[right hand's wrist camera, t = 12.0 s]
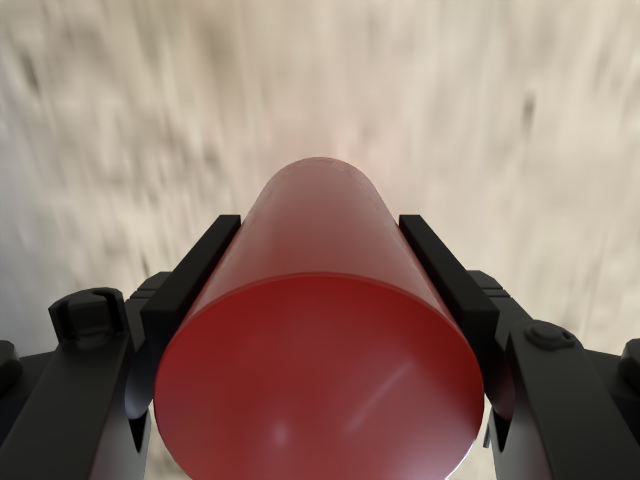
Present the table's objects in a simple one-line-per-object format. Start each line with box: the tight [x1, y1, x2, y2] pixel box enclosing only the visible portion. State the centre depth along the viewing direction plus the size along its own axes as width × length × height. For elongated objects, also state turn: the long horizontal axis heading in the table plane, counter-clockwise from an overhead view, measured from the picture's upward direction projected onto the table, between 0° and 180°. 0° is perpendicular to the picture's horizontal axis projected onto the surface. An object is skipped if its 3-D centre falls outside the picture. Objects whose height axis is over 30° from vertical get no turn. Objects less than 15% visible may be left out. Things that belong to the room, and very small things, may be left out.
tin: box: [153, 157, 484, 480], centre depth 12 cm, size 6×6×11 cm
